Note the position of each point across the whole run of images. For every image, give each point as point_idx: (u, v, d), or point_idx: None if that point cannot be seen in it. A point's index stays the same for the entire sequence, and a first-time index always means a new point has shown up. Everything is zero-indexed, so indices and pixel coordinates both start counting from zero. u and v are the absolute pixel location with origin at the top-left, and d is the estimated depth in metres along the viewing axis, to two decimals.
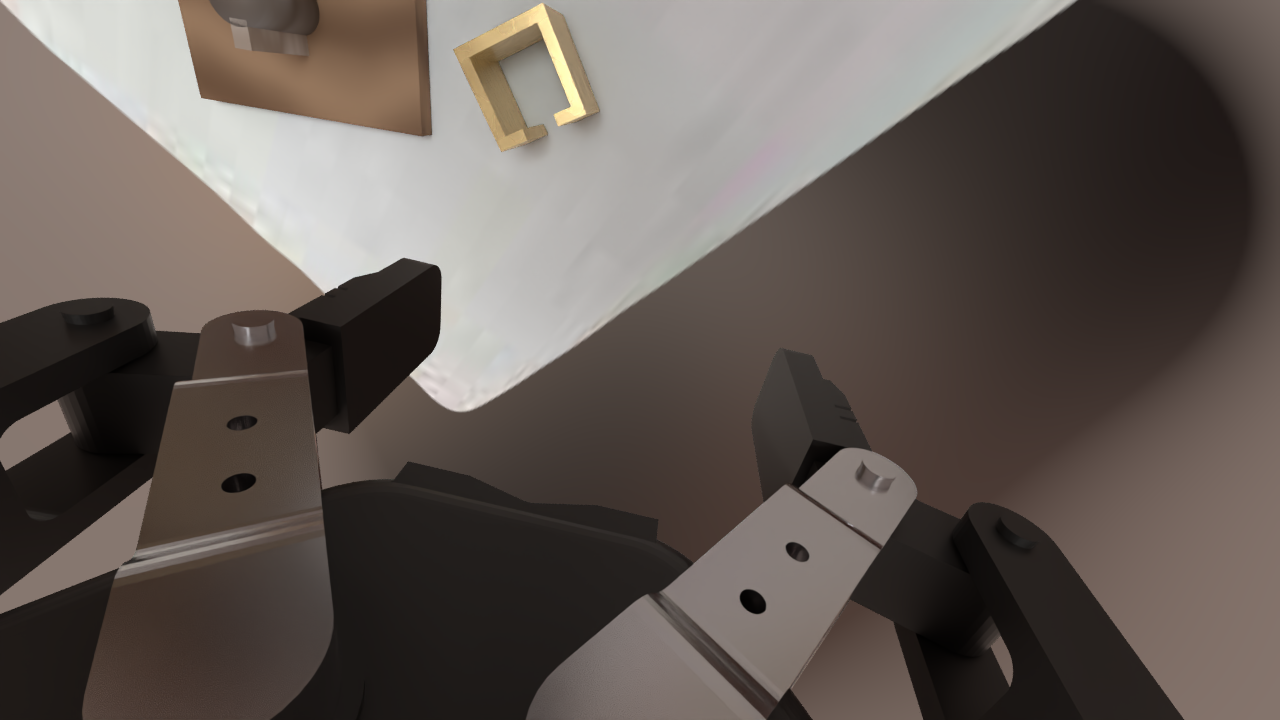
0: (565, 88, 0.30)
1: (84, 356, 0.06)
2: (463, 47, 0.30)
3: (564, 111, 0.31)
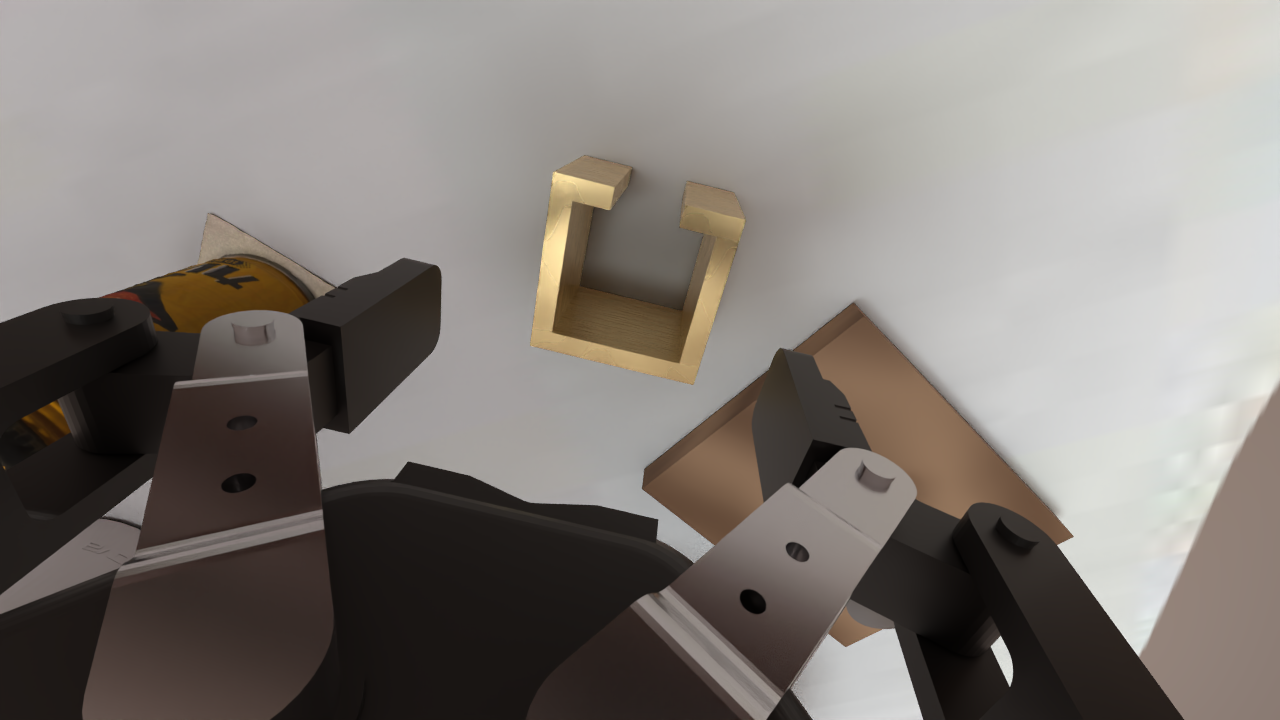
0: (564, 231, 0.16)
1: (85, 356, 0.06)
2: (676, 377, 0.18)
3: (588, 201, 0.16)
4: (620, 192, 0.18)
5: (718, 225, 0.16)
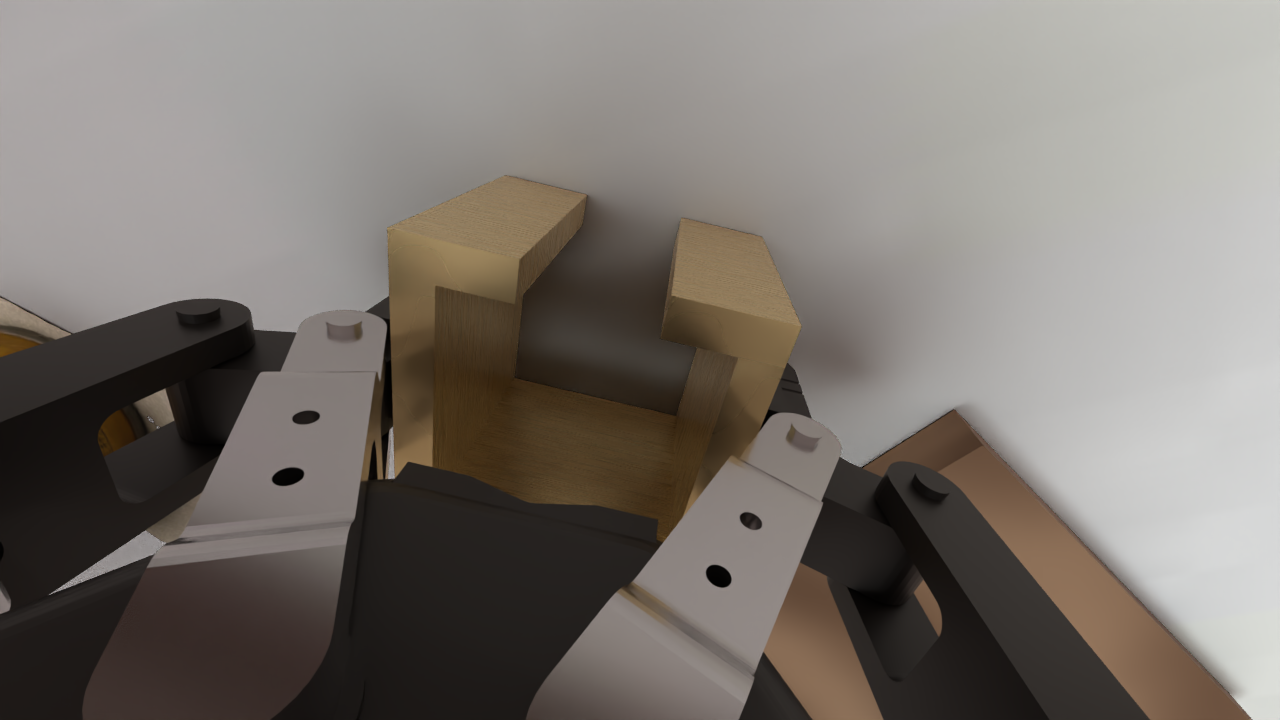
0: (428, 343, 0.08)
1: (185, 354, 0.07)
2: None
3: (468, 287, 0.07)
4: (554, 250, 0.09)
5: (742, 336, 0.07)
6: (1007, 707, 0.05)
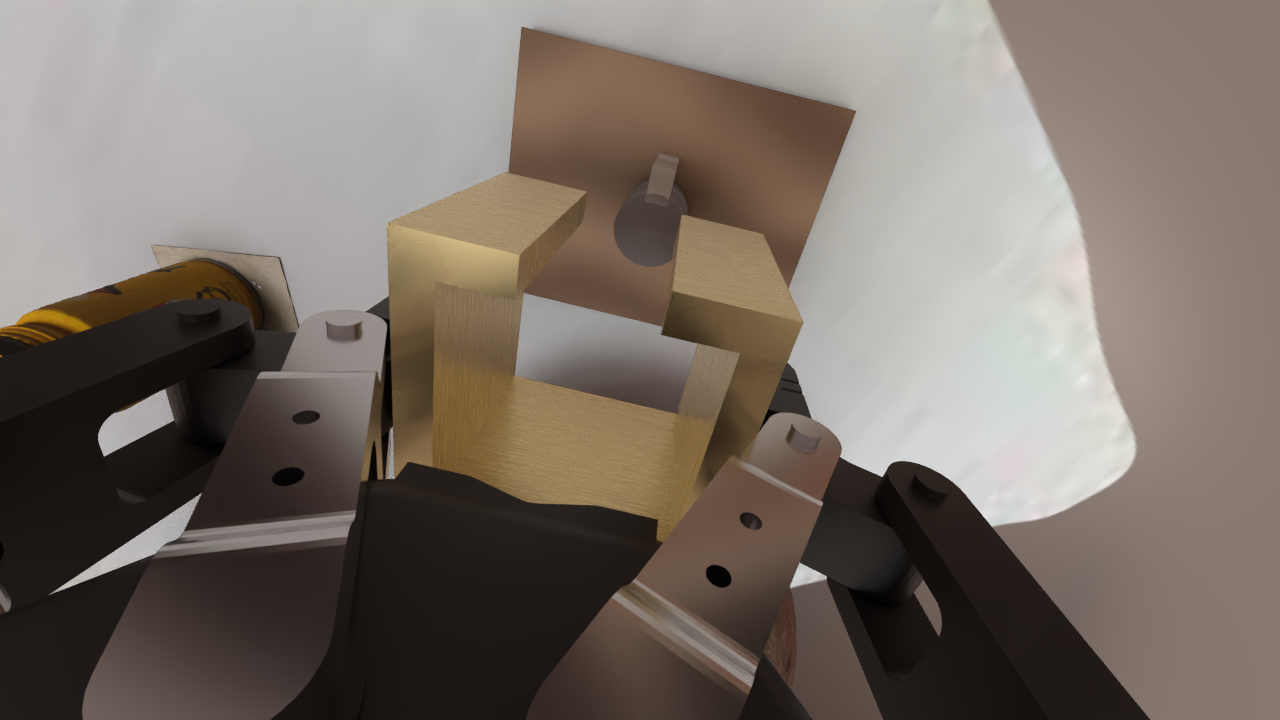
0: (428, 339, 0.08)
1: (185, 354, 0.07)
2: None
3: (468, 282, 0.07)
4: (554, 246, 0.09)
5: (744, 331, 0.07)
6: (1007, 707, 0.05)
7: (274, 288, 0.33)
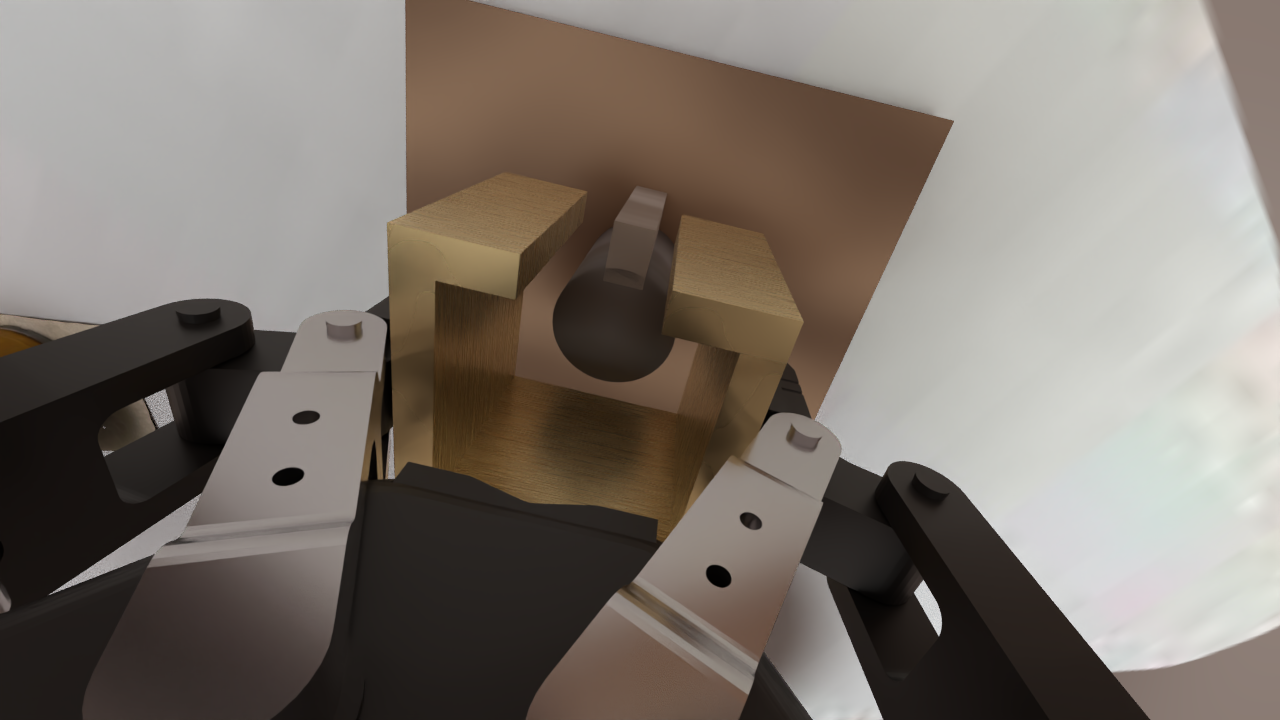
0: (428, 339, 0.08)
1: (185, 354, 0.07)
2: None
3: (468, 282, 0.07)
4: (554, 246, 0.09)
5: (744, 331, 0.07)
6: (1007, 707, 0.05)
7: None
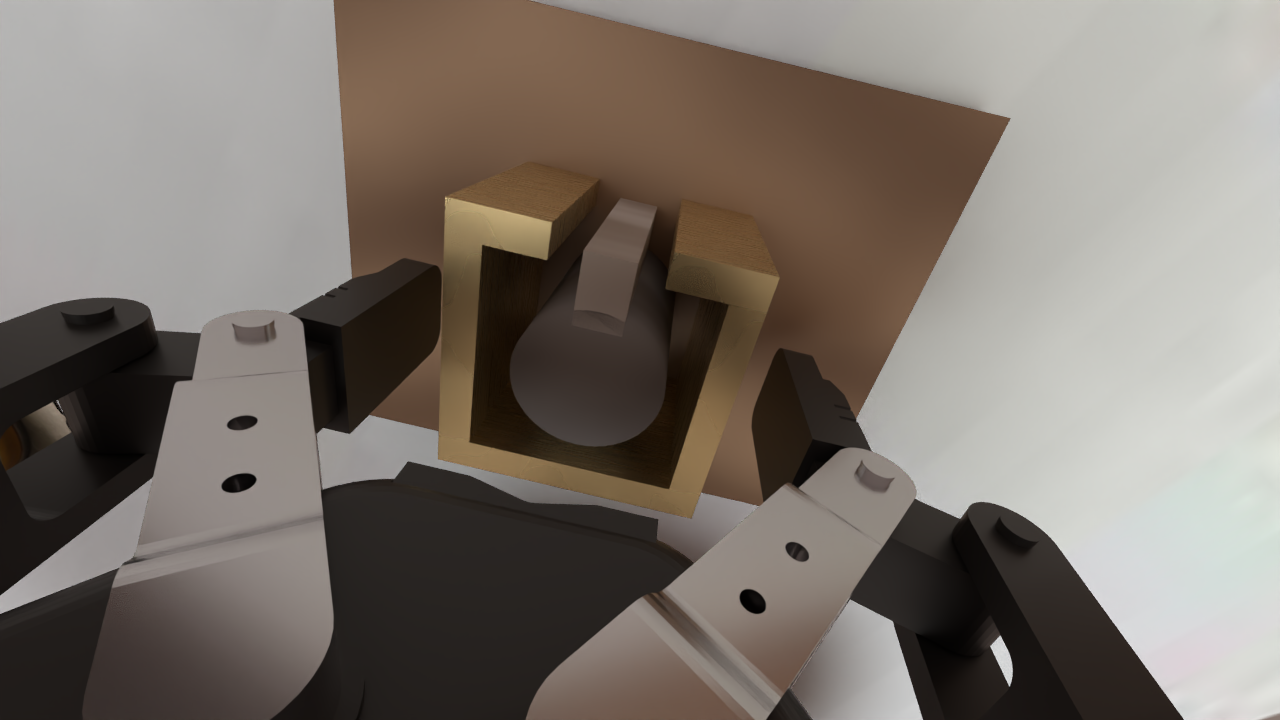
0: (473, 294, 0.10)
1: (84, 356, 0.06)
2: (665, 508, 0.12)
3: (509, 246, 0.09)
4: (574, 222, 0.11)
5: (732, 286, 0.09)
6: None
7: None
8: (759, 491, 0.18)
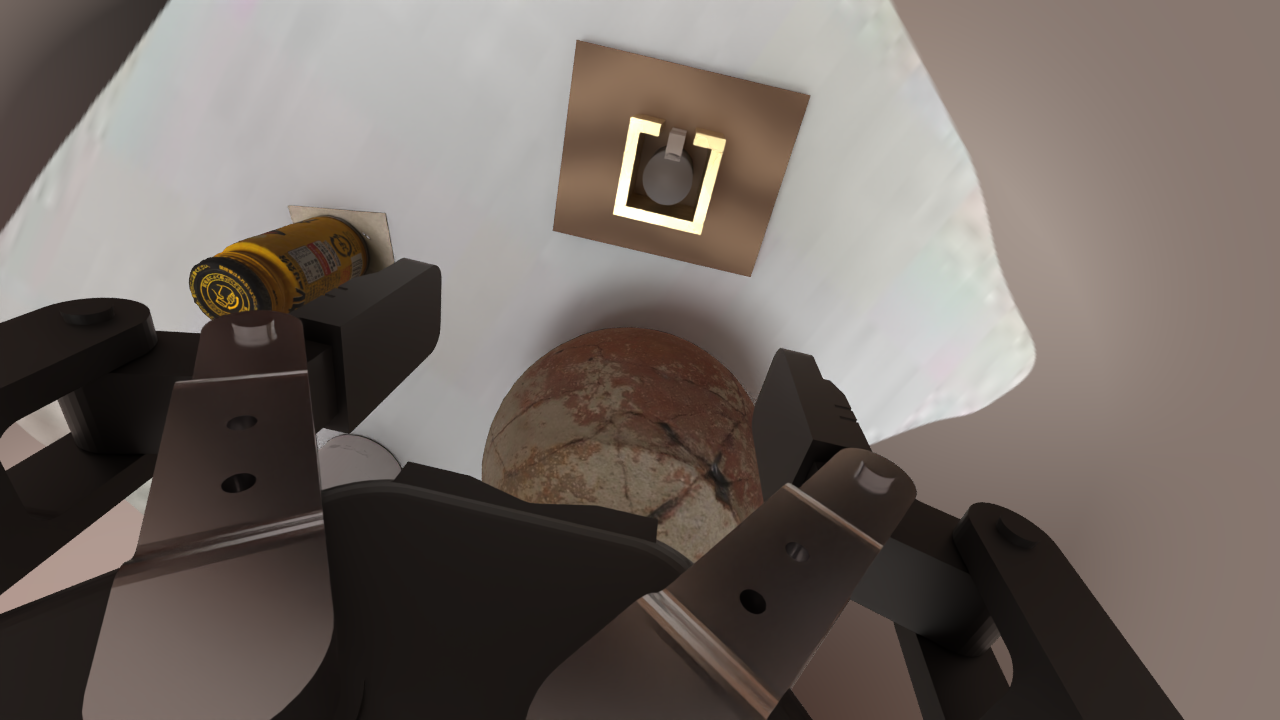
0: (634, 148, 0.32)
1: (84, 356, 0.06)
2: (691, 230, 0.34)
3: (647, 132, 0.31)
4: (661, 130, 0.33)
5: (712, 143, 0.31)
6: None
7: (379, 238, 0.43)
8: (729, 264, 0.40)
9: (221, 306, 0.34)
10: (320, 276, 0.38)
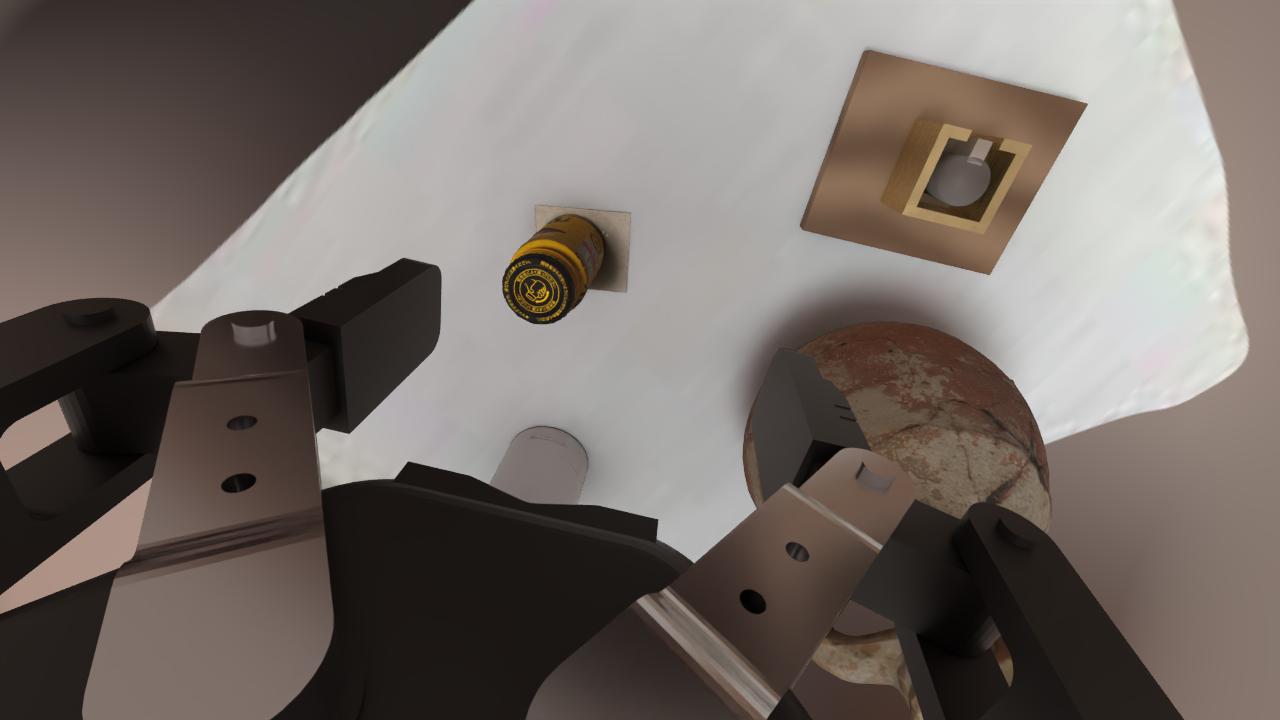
0: (940, 152, 0.34)
1: (84, 356, 0.06)
2: (976, 230, 0.36)
3: (956, 137, 0.33)
4: None
5: (1018, 148, 0.33)
6: None
7: (619, 236, 0.45)
8: (971, 262, 0.42)
9: (529, 300, 0.36)
10: (592, 272, 0.40)
